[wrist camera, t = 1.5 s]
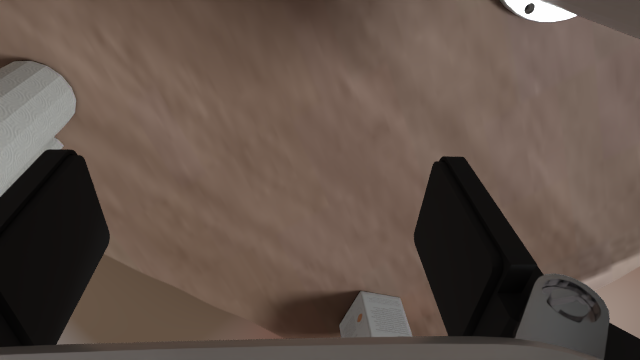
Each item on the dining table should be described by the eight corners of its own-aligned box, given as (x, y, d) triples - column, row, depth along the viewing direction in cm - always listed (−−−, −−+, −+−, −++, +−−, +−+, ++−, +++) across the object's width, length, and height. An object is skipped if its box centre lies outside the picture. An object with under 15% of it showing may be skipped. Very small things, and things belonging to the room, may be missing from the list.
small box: (377, 330, 59) (398, 425, 48) (338, 324, 57) (351, 421, 46) (401, 296, 54) (431, 391, 44) (360, 289, 53) (380, 386, 42)
